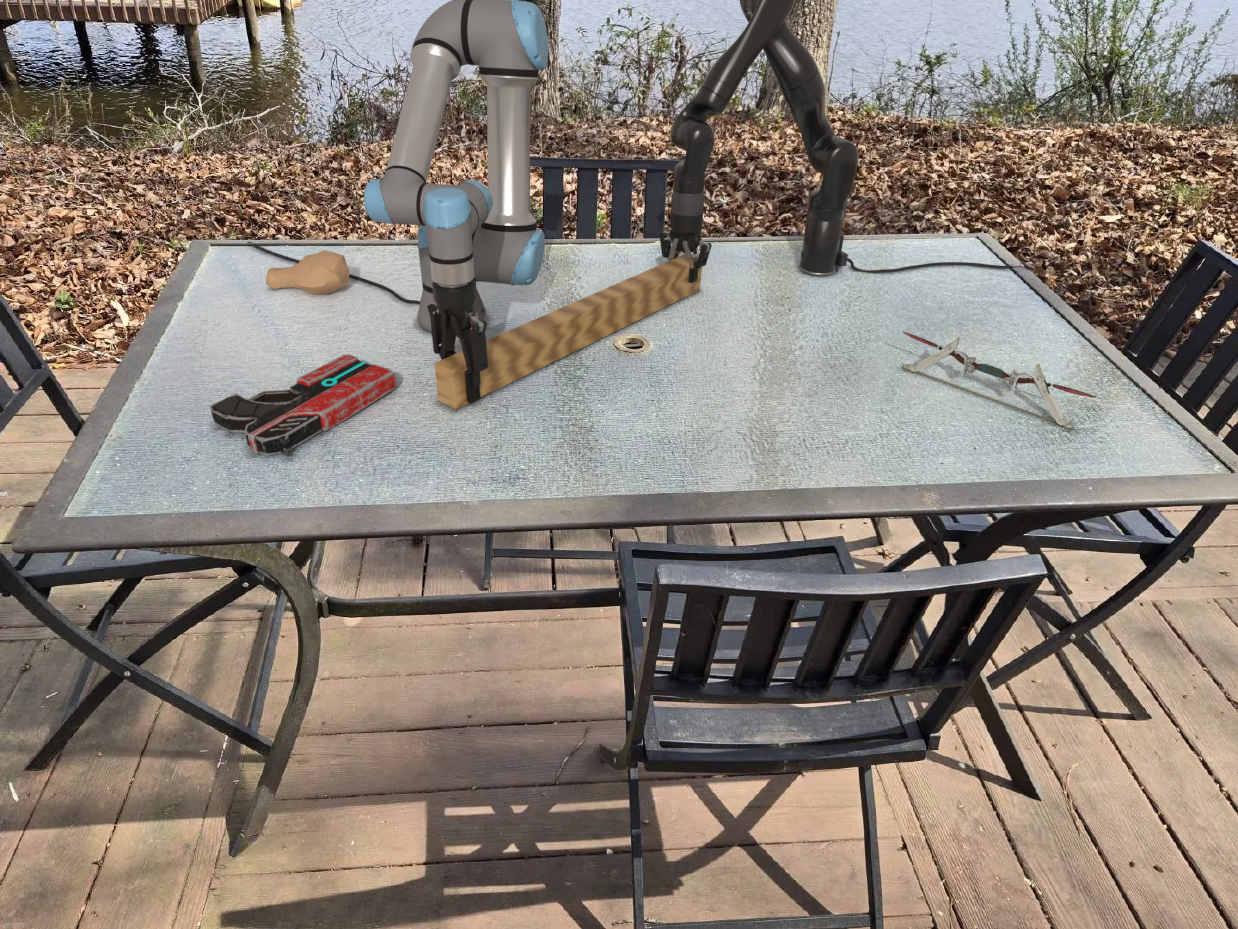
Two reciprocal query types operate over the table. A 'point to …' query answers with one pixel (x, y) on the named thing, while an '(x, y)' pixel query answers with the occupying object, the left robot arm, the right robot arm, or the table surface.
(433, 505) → the table surface
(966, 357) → the bow
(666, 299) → the beam
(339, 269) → the squash
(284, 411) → the gun
